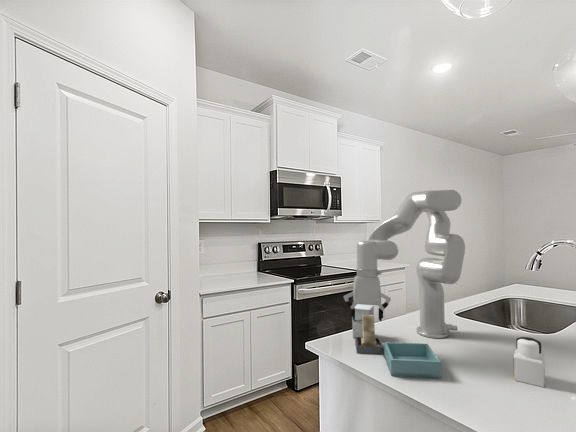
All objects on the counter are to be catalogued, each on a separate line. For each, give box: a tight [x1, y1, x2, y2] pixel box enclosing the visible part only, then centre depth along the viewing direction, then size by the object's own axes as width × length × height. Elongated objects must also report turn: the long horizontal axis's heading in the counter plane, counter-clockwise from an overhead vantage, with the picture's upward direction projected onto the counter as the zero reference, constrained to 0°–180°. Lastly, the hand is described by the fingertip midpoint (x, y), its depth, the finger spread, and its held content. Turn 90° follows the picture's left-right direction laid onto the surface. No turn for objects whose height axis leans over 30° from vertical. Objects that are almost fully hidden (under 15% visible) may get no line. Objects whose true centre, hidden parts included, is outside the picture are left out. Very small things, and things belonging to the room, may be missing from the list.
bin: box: [383, 341, 442, 379], centre depth 108 cm, size 15×15×5 cm
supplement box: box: [351, 304, 375, 339], centre depth 135 cm, size 7×7×13 cm
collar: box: [354, 336, 384, 355], centre depth 123 cm, size 10×10×2 cm
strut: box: [360, 315, 378, 346], centre depth 123 cm, size 5×5×12 cm
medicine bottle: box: [512, 336, 546, 388], centre depth 98 cm, size 7×7×12 cm
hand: (366, 319), depth 123 cm, fingers open, 9 cm apart
